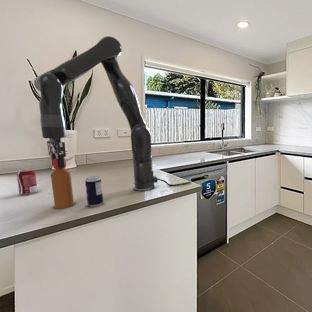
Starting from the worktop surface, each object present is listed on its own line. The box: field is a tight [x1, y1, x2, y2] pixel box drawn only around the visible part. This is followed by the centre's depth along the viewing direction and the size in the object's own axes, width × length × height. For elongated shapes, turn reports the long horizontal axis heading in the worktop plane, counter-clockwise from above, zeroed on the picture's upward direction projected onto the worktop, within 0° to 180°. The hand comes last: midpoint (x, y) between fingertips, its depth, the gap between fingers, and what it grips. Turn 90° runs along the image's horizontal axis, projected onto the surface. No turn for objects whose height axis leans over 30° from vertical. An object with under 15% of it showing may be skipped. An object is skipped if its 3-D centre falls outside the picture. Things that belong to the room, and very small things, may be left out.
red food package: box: [16, 168, 39, 196], centre depth 109 cm, size 7×7×12 cm
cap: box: [52, 158, 67, 170], centre depth 91 cm, size 4×4×4 cm
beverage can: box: [84, 175, 104, 207], centre depth 94 cm, size 6×6×12 cm
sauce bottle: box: [50, 168, 75, 210], centre depth 92 cm, size 6×6×20 cm
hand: (58, 166), depth 92 cm, fingers open, 6 cm apart
